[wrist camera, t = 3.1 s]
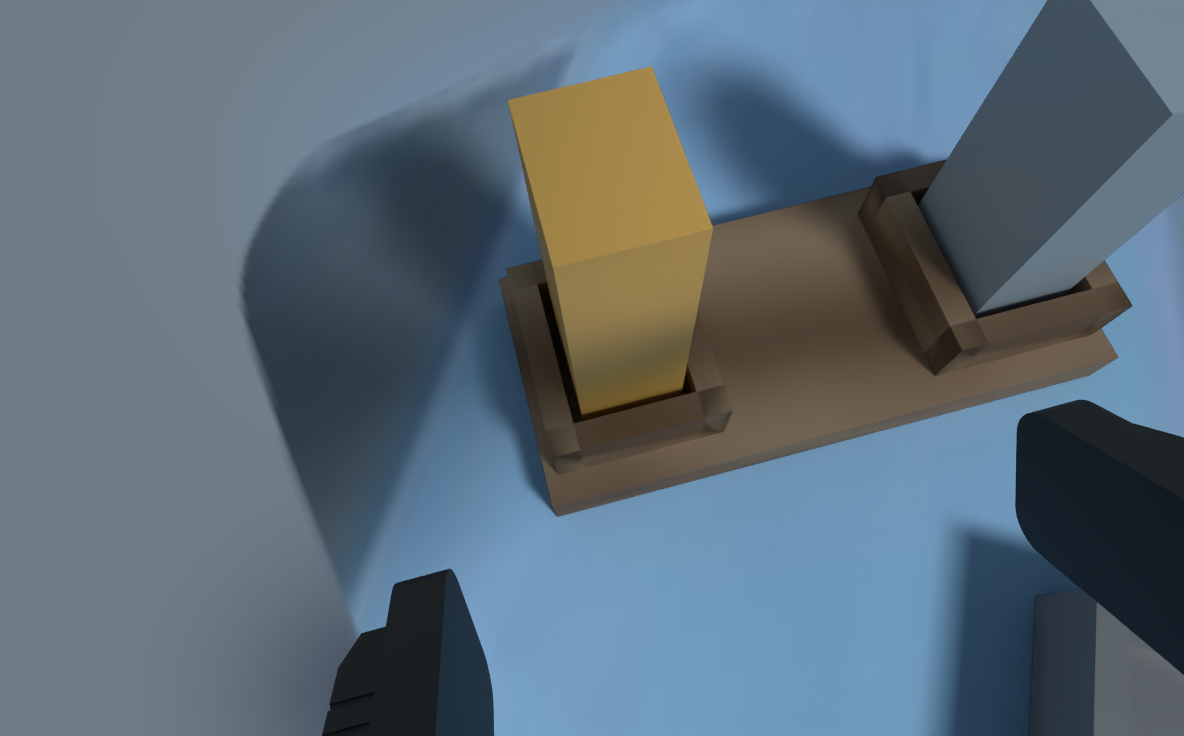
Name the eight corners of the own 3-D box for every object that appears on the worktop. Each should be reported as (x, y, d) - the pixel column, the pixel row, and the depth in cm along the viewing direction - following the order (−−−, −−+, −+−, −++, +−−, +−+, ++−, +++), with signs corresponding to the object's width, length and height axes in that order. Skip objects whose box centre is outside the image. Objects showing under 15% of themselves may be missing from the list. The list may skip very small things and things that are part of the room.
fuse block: (505, 299, 26) (488, 247, 23) (979, 181, 27) (1028, 114, 23) (557, 517, 23) (545, 492, 20) (1089, 375, 24) (1162, 329, 20)
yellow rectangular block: (555, 319, 24) (507, 100, 14) (643, 297, 24) (651, 66, 15) (585, 432, 22) (553, 267, 13) (678, 407, 22) (713, 228, 13)
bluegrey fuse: (901, 232, 24) (1067, -32, 15) (985, 211, 24) (1200, -63, 15) (953, 336, 23) (1172, 114, 14) (1041, 313, 23) (1319, 78, 14)
